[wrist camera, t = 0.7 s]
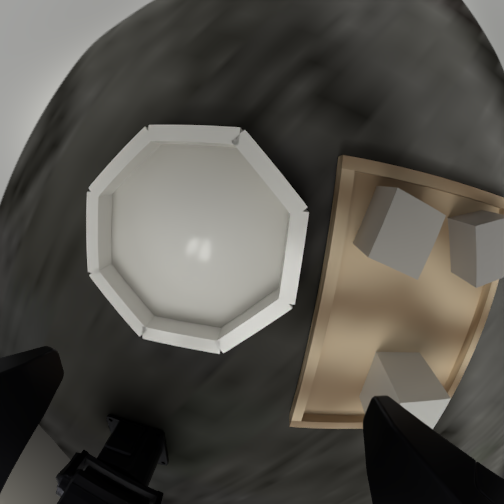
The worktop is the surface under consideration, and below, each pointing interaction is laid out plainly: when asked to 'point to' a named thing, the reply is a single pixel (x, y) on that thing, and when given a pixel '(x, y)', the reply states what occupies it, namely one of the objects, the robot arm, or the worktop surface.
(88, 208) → the bowl
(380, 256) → the grey cubic piece
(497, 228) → the grey piece
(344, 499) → the worktop surface
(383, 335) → the tray
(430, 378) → the grey rectangular block
